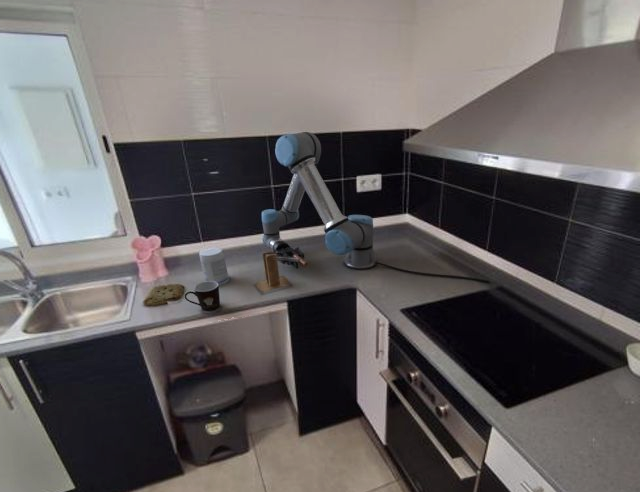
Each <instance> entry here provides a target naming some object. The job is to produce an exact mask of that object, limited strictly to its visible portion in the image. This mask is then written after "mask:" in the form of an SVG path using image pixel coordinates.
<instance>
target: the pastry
mask: <svg viewBox="0 0 640 492" xmlns="http://www.w3.org/2000/svg"><path fill="white" fill-rule="evenodd" d="M184 287H185V285H183V284H180V283H170V284H162V285H157V286H154V287H152V288H151V289H150V291H149V292H148V295H147V296H146V297H145V299H144V300H143V303H142V304H143V305H144V306H147V307H148V306H149V307H150V306H160V305H165V304H167V305H168V302H177V301H179V300H180V299H181V298H182V295H184Z"/></svg>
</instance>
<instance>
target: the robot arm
mask: <svg viewBox="0 0 640 492" xmlns="http://www.w3.org/2000/svg"><path fill="white" fill-rule="evenodd" d="M274 152H275V157H276V159H277V161H278V163H279V164H280V165H282V166H284V167H288V169H289V171H290V173H291V174H293V175H292V178H291V180H290V185H289V187H288V190H287V192H286V196H285V199H284V201H283V204H282V207H281V209H280V210H276V209H273V208H272V209H271V208H269V209H264V210H262V211H261V222H262V229H263V236H262V238H261V241H262V243H263V245H264V246H265V248H266V249H269V251H273V254H277V257H286V258H294V257H293V256H294V254H296V255H298V256H299V257H300V258H302V259H303V260H304V261H305V262H306V260H305V253H304V252H303V251H301V249H300V247H299V246H298V247H296V248H293V247H291V246H290V244H289V243H288V242H286V241H285V240H283V239H282V238H281V234H280V232H281V231H280V228H282V227H284V226H286V225H289V224H292V223H294V222H295V221H297V220H299V218H300V211H299V208H300V206H301V202H302V200H303V197H304V194H305V192H306V194H307V195H308V197H309V199H310V201H311V203H312V205H313V206H314V209H315V210H316V212H317V213H318V215H319V217H320V218H321V221H322V222H323V225H324V228H323V232H324V233H325V236H324V239H325V240H324V244H325V247H326V248H327V249H328V250H329V251H330V252H331V253H332V254H334V255H337V256H345V257H344V265H345V266H346V267H347V268H349V269H352V270H368V269H372V268H374V267H375V266H376V265H380V266H383V267H386V268H389V269H393V270H397V271H401V272H405V273H409V274H415V275H416V274H417V275H424V276H432V277H443V278H444V277H445V278H455V279H465V280H473V281H477V282H485V283H490V280H488V279H482V278H477V277H472V276H471V277H470V276H461V275H452V274H439V273H431V272H430V273H429V272H421V271H413V270H409V269H405V268H404V269H403V268H399V267H396V266H393V265H389V264H386V263H382V262H378V261H377V257H376V253H375V251H374V219H373V217H372V216H369V215H364V214H350V215H348V216H346V215H343V213H342V212H341V210H340V208H339V206H338V205H337V203H336V201H335V199H334V197H333V196H332V194H331V191H330V190H329V188H328V186H327V185H326V183H325V181H324V180H323V177H322V176H321V174H320V172H319V170H318V168H317V167H318V164H319V161H320V159H321V154H322V144H321V141H320V140H319V138H318V137H317V136H316V135H315V134H314V133H312V132H309V131H302V132H296V133H287V134H284V135H282V136H280V137H279V138H278V139H277V140H276V143H275V149H274ZM277 262H279V263H282V265H285V264H287V266H292V267H294V268H295V269H299V264H300V265H301V266H302V267H304V268H305V267H306V266H304V265H302V264H301V263H300V262H299V261H287V260H277ZM298 263H299V264H298Z"/></svg>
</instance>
